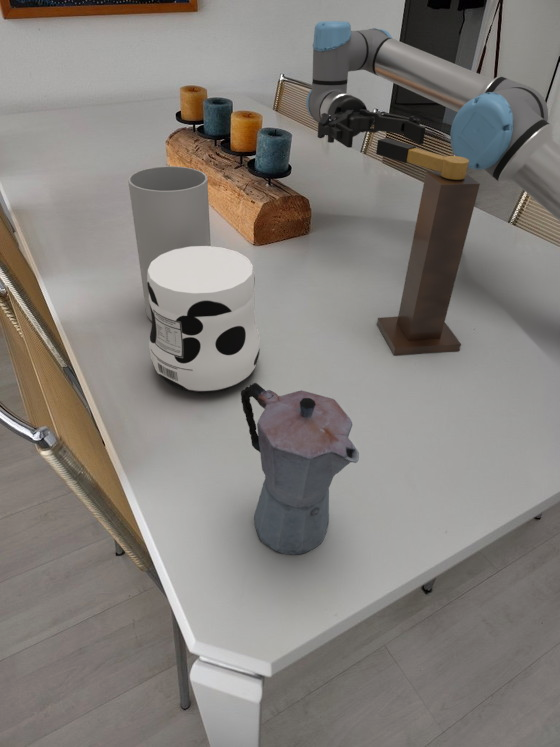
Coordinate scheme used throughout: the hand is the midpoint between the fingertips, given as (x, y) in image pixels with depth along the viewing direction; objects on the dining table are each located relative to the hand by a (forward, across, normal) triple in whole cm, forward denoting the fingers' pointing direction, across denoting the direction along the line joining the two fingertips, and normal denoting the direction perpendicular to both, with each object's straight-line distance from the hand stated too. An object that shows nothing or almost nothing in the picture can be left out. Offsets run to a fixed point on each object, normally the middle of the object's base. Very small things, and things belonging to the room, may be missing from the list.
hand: (387, 137), depth 95 cm
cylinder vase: (+1, +38, -29) cm, 48 cm away
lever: (+14, +1, -1) cm, 14 cm away
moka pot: (+52, +32, -32) cm, 69 cm away
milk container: (+19, +36, -30) cm, 51 cm away
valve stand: (+18, -2, -30) cm, 35 cm away
